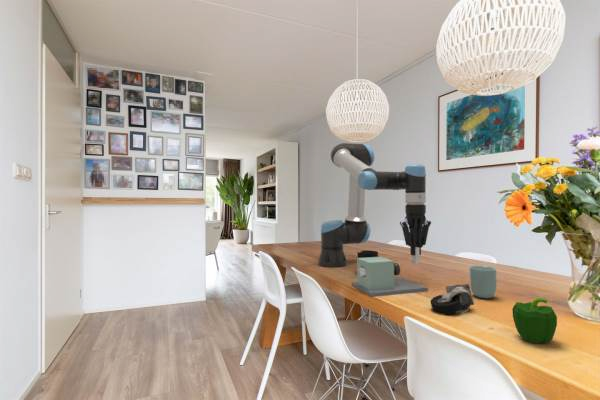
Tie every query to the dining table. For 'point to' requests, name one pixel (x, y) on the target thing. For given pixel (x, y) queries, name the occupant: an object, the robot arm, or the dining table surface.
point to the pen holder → (367, 254)
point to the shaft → (396, 270)
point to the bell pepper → (535, 321)
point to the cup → (483, 281)
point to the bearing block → (382, 278)
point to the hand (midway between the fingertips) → (415, 263)
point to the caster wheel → (453, 300)
